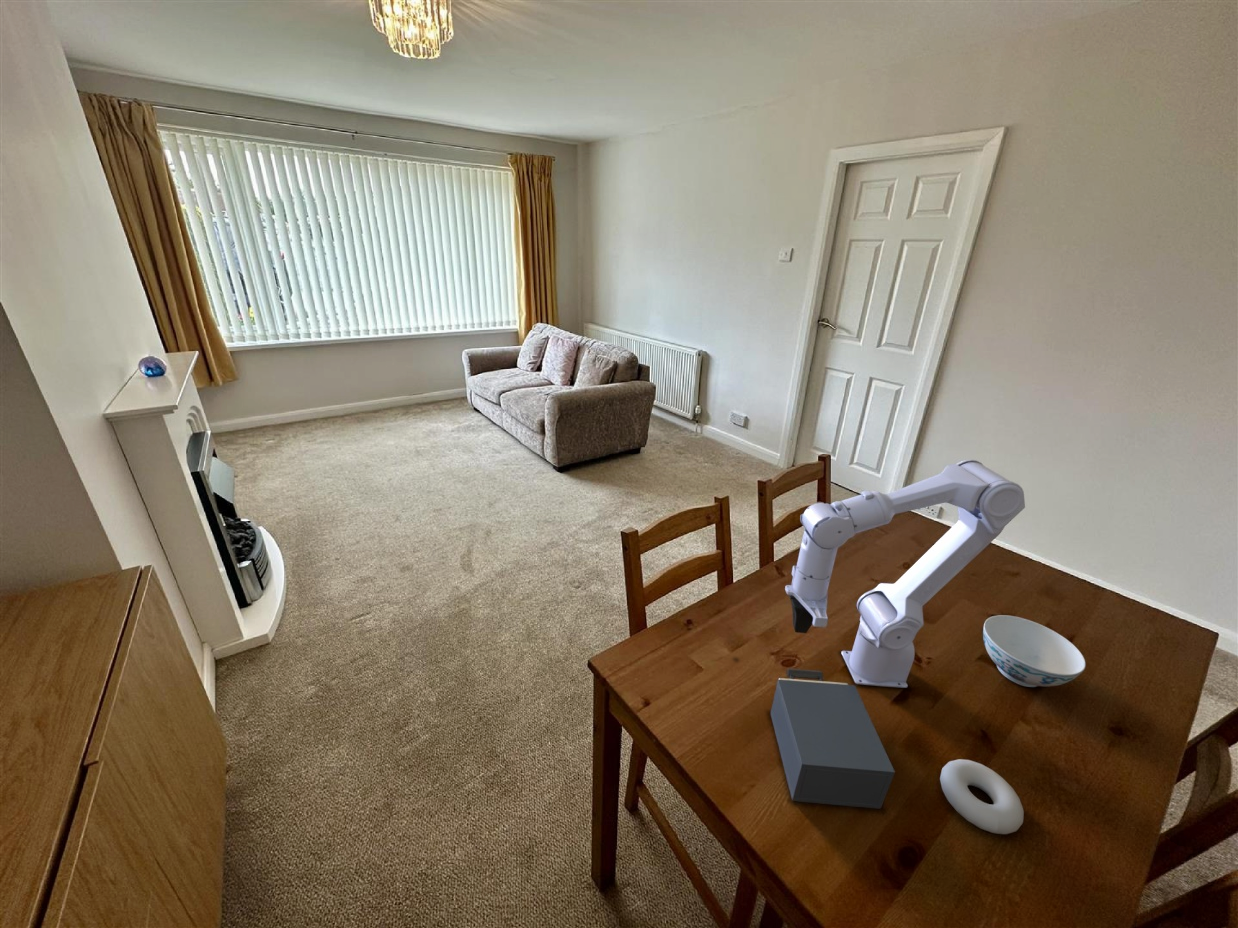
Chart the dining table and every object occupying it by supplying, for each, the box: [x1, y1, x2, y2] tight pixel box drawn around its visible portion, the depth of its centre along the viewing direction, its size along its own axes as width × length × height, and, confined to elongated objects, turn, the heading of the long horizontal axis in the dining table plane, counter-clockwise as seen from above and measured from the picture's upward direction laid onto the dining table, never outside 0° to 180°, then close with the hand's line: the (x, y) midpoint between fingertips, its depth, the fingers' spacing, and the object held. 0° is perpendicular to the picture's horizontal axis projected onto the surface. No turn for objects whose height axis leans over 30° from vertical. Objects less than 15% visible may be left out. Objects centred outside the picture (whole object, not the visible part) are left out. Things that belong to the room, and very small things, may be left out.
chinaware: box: [982, 614, 1087, 688], centre depth 92 cm, size 15×15×8 cm
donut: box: [939, 758, 1025, 835], centre depth 70 cm, size 10×4×10 cm
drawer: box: [778, 668, 849, 685], centre depth 78 cm, size 18×11×6 cm, turn 176°
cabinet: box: [770, 679, 896, 810], centre depth 75 cm, size 15×13×8 cm
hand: (800, 630), depth 89 cm, fingers closed
